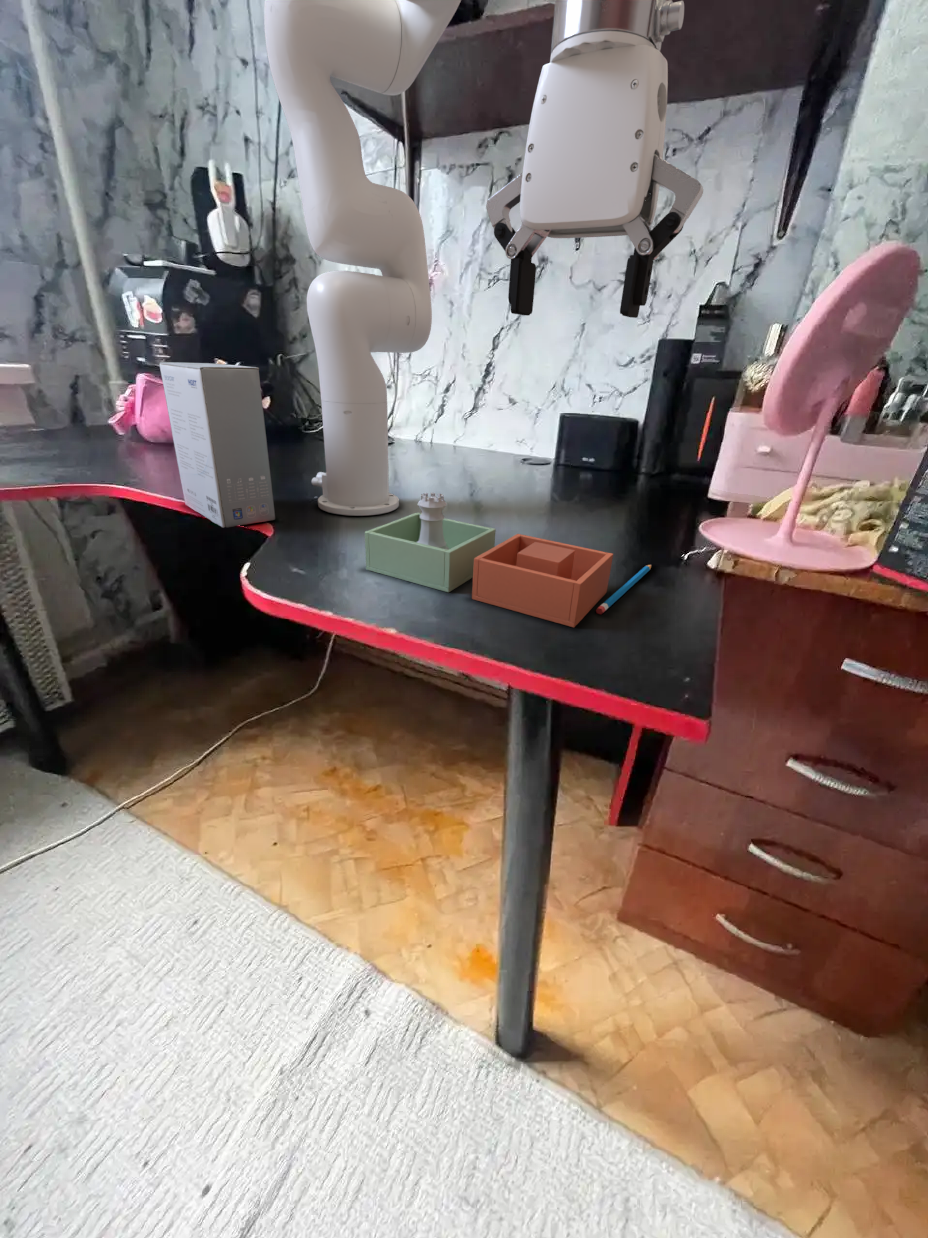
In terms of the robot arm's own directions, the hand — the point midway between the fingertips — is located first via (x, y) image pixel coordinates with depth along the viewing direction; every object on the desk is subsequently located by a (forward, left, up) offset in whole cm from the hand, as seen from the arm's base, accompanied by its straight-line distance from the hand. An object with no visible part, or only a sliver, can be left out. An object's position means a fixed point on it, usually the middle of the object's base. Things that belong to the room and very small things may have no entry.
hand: (572, 315), depth 47 cm
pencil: (+7, +8, -26) cm, 29 cm away
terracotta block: (0, 0, -26) cm, 26 cm away
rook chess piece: (-14, 0, -26) cm, 29 cm away
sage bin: (-14, 0, -26) cm, 30 cm away
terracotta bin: (0, 0, -26) cm, 26 cm away
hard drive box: (-50, 0, -26) cm, 57 cm away
